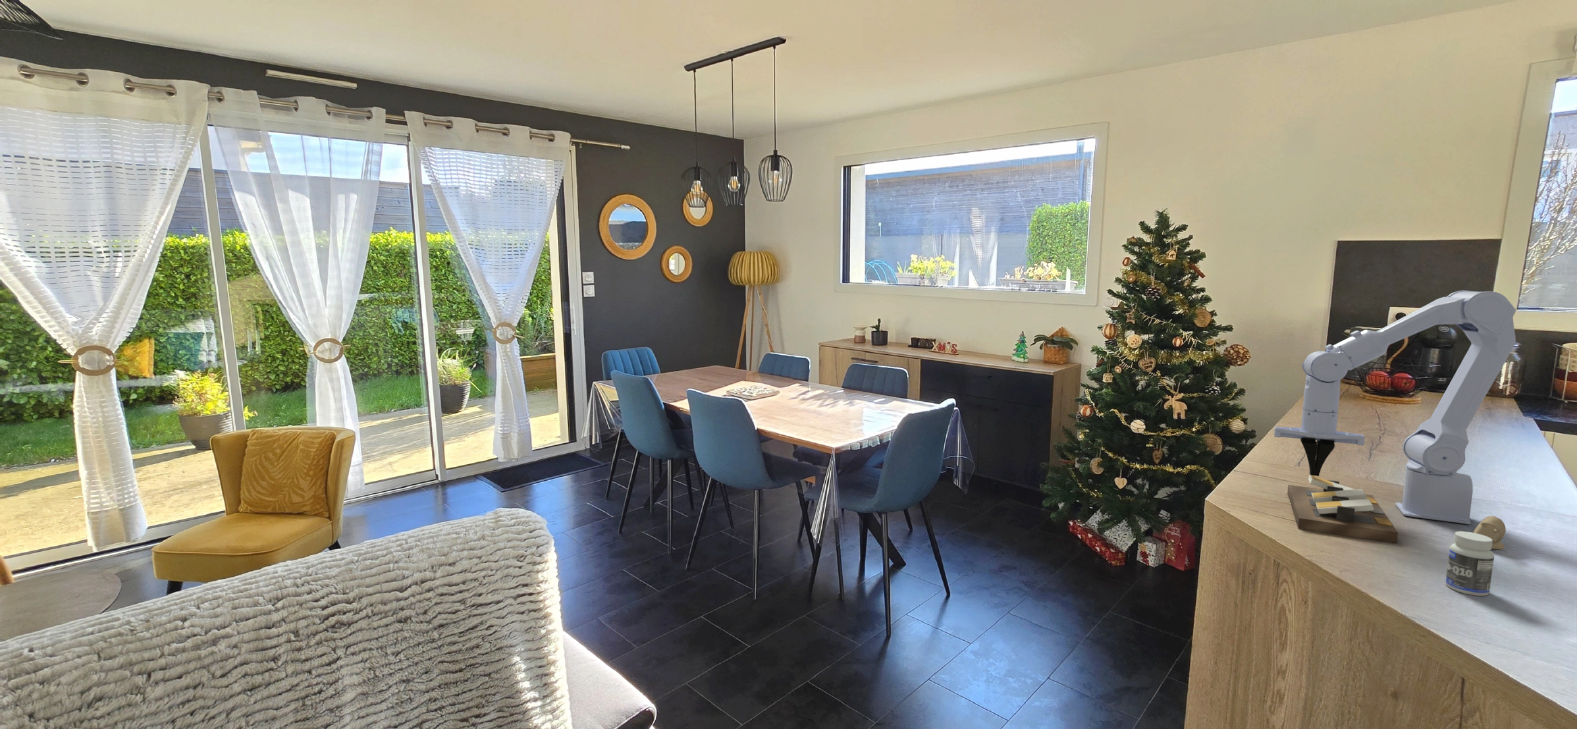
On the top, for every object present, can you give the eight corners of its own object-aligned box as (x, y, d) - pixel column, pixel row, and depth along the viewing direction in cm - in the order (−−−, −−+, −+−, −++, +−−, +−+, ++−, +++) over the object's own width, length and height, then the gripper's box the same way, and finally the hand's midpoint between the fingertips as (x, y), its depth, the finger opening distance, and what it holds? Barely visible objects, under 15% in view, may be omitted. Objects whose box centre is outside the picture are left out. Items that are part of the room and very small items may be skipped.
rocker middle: (1363, 493, 132) (1361, 488, 132) (1366, 499, 129) (1365, 493, 129) (1312, 497, 136) (1311, 492, 136) (1314, 503, 133) (1313, 497, 133)
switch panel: (1371, 504, 139) (1373, 482, 139) (1396, 542, 119) (1399, 517, 119) (1287, 493, 147) (1289, 473, 146) (1298, 528, 127) (1300, 504, 126)
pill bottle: (1436, 583, 104) (1442, 530, 103) (1464, 581, 104) (1470, 529, 103) (1469, 597, 99) (1476, 542, 98) (1499, 596, 99) (1505, 541, 98)
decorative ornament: (1506, 543, 119) (1510, 514, 118) (1499, 555, 114) (1502, 525, 113) (1474, 537, 122) (1477, 508, 121) (1465, 548, 117) (1468, 518, 116)
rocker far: (1354, 494, 138) (1356, 489, 138) (1357, 499, 135) (1360, 494, 135) (1308, 478, 142) (1310, 474, 142) (1310, 483, 139) (1312, 478, 138)
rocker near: (1369, 504, 126) (1368, 498, 126) (1373, 510, 123) (1372, 504, 123) (1316, 507, 130) (1315, 502, 130) (1319, 513, 127) (1317, 508, 127)
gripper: (1278, 409, 139) (1272, 474, 140) (1369, 417, 131) (1363, 484, 133) (1275, 404, 145) (1270, 466, 146) (1363, 411, 137) (1356, 476, 138)
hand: (1314, 474), depth 140 cm, fingers closed
